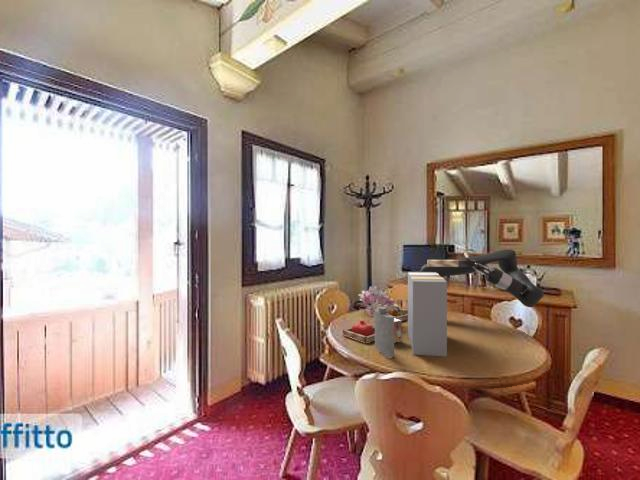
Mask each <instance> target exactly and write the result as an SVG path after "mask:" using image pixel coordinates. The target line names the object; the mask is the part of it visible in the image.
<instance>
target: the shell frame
mask: <svg viewBox="0 0 640 480" xmlns="http://www.w3.org/2000/svg"><path fill="white" fill-rule="evenodd" d="M374 308H375V307H374ZM400 309H401V311H400V315H399V316H396V317H395V316H394V318H396V319H399V320H401V321H402V322H404V321H405V322H406V321H408V309H406V308H405V309H403V308H400ZM363 311H364V315H365V314H367V315H368V312H369V311H370V310H367V308H366V309H363ZM372 314H373V312H371V316H372ZM403 314H404V315H403ZM367 315H366V316H367ZM371 316H370V317H371Z"/></svg>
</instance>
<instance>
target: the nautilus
mask: <svg viewBox="0 0 640 480" xmlns="http://www.w3.org/2000/svg"><path fill="white" fill-rule="evenodd" d="M379 305H381V303H379ZM393 305H394V306H395V308H396V309H397V310H398V312H397V310H394V309H393V310H391V309H389V310H388V311H386V313H388V314H389V315H392V316H395V317H398V316H401V314H400V311H401V309H402V308H401V307H400V306H398V304H397V303H394V304H393ZM384 306H385V305H384ZM377 309H378V308H377Z"/></svg>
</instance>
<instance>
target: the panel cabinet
mask: <svg viewBox="0 0 640 480" xmlns="http://www.w3.org/2000/svg"><path fill="white" fill-rule="evenodd" d="M407 310H408V320H407V334H409V335H408V339H409V342H410V347H411V352H412V355H417V356H433V357H436V356H437V357H448V281H447V280H446V279H445V278H444V277H441V276H440V275H439V274H437V273H436V272H420V271H407Z"/></svg>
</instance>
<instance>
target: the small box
mask: <svg viewBox="0 0 640 480" xmlns="http://www.w3.org/2000/svg"><path fill="white" fill-rule="evenodd" d="M402 333H403V321H401V320H399V319H396V318H394V344H396V342H398V343H402V341H403V339H402V338H403V336H402V335H403V334H402Z"/></svg>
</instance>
